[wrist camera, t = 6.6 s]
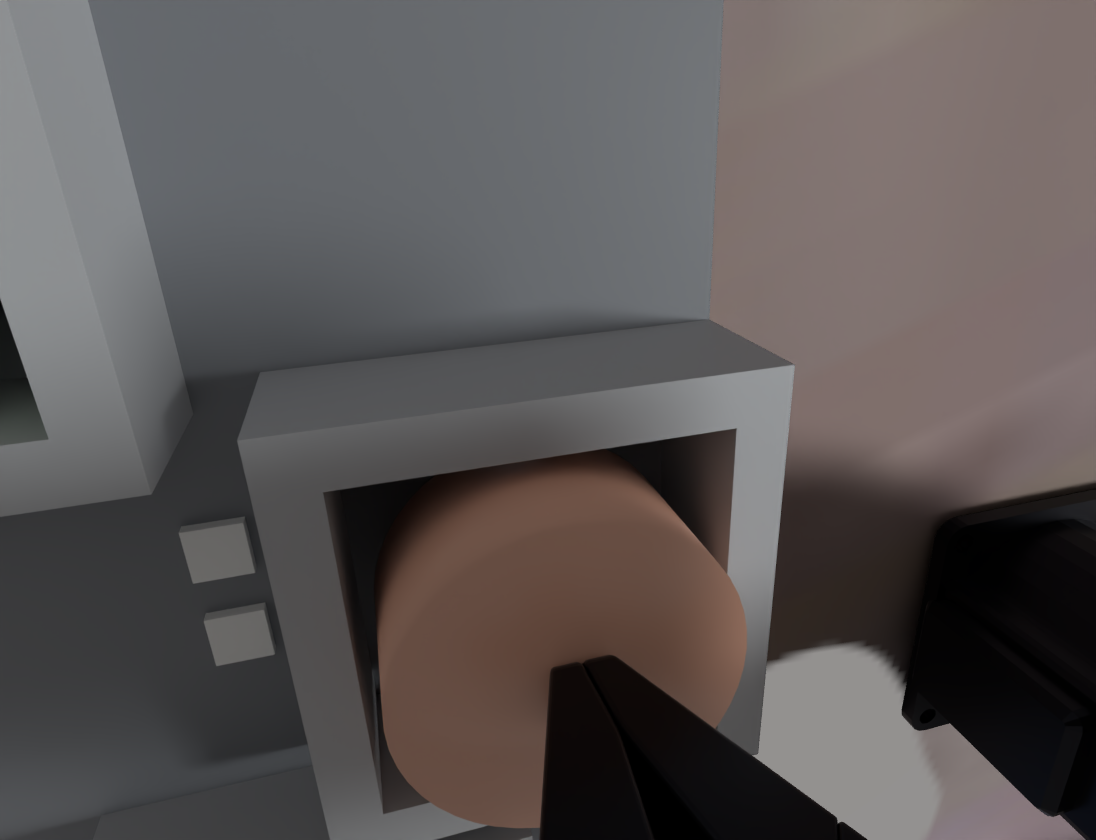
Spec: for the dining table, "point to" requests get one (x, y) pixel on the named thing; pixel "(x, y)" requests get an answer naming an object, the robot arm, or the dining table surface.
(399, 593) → the terracotta button
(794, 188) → the dining table surface
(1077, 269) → the dining table surface
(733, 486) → the button panel
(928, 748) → the dining table surface
